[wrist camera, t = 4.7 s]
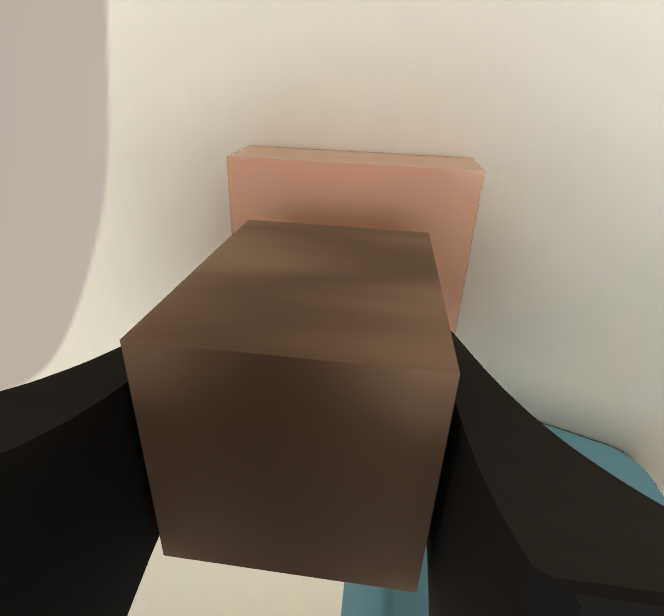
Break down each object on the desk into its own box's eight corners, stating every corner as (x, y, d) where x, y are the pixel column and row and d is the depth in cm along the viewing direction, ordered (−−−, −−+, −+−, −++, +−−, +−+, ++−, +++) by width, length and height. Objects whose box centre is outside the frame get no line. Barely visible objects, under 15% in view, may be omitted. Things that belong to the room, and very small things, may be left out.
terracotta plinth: (472, 158, 16) (484, 171, 14) (442, 331, 19) (448, 364, 17) (249, 145, 17) (226, 156, 14) (257, 314, 20) (239, 344, 18)
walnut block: (429, 232, 11) (460, 374, 6) (408, 383, 13) (417, 592, 8) (248, 219, 11) (119, 339, 6) (255, 367, 13) (163, 555, 8)
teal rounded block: (357, 440, 22) (323, 768, 12) (389, 369, 20) (383, 690, 10) (583, 514, 23) (749, 898, 12) (638, 453, 21) (897, 852, 10)
